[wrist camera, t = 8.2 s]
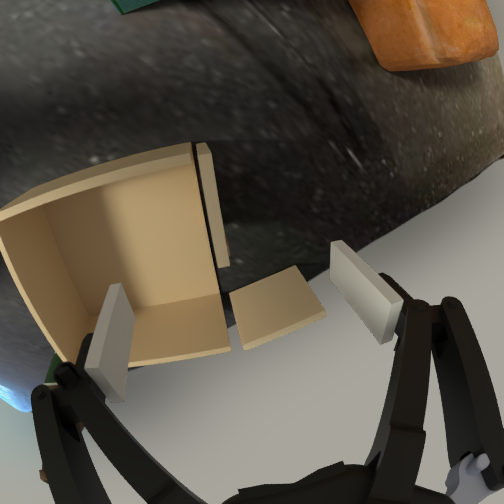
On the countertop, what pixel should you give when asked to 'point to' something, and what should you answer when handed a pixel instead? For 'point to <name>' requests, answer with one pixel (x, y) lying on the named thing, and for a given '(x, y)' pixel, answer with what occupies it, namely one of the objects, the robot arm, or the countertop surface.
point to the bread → (427, 32)
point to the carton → (119, 256)
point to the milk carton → (130, 4)
